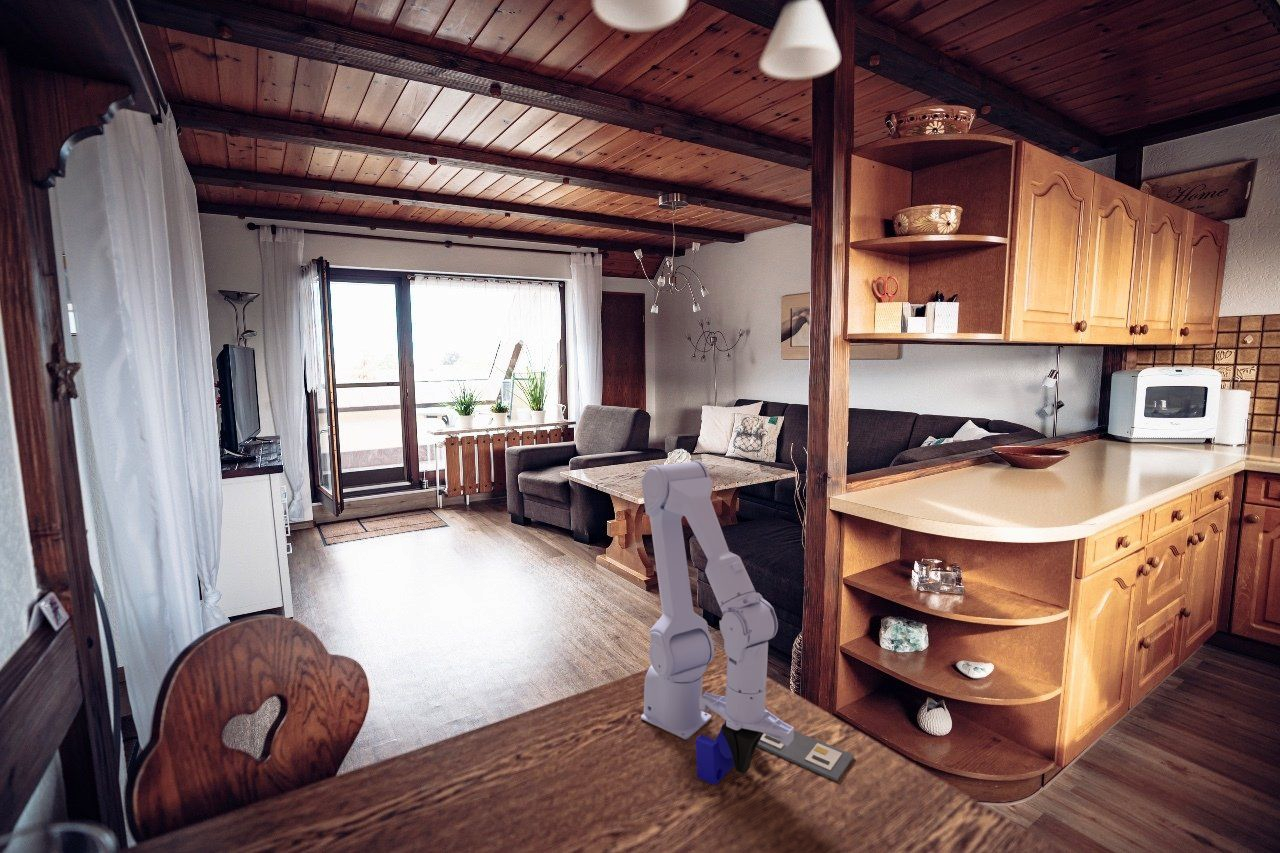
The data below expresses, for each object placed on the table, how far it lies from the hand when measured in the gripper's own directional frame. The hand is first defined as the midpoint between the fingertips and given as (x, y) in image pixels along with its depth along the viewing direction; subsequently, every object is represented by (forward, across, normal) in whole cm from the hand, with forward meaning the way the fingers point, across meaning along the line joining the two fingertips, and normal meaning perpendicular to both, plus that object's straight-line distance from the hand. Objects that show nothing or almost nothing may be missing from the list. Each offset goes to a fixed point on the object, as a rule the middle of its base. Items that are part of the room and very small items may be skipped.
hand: (742, 769), depth 94 cm
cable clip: (+1, -4, +2) cm, 4 cm away
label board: (+1, +4, +11) cm, 12 cm away
